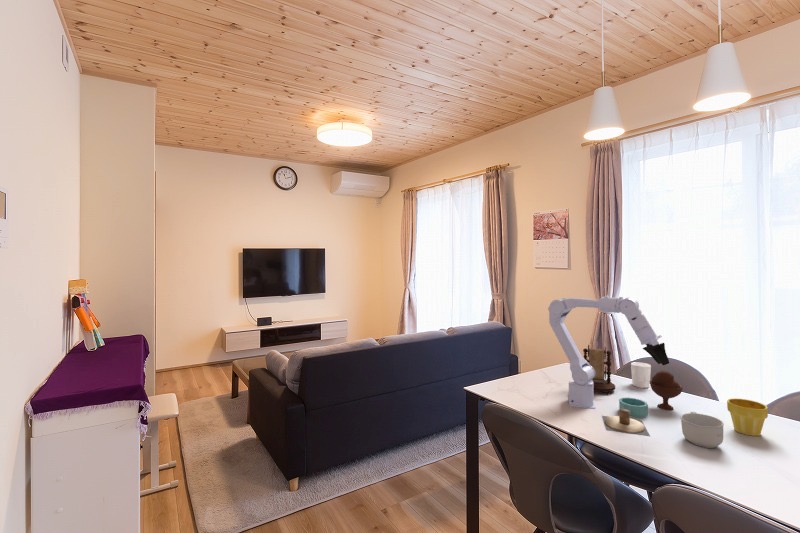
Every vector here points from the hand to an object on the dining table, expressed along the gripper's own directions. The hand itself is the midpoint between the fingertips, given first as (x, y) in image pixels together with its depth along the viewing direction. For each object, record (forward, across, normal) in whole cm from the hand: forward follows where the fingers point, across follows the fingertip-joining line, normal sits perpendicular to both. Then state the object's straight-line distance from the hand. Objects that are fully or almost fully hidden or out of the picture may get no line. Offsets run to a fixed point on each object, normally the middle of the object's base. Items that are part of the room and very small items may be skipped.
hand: (663, 363), depth 137 cm
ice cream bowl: (+18, +22, +5) cm, 29 cm away
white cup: (+12, +49, +6) cm, 51 cm away
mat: (+14, -3, +22) cm, 26 cm away
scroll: (+5, +36, +24) cm, 44 cm away
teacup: (+25, -6, +4) cm, 26 cm away
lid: (+14, -3, +22) cm, 26 cm away
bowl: (+14, +11, +17) cm, 24 cm away
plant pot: (+30, +8, -12) cm, 33 cm away
